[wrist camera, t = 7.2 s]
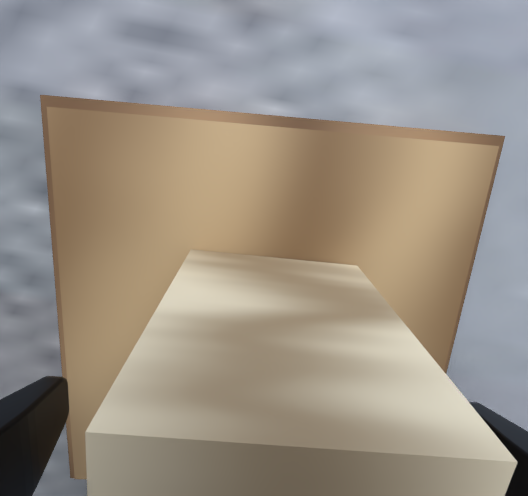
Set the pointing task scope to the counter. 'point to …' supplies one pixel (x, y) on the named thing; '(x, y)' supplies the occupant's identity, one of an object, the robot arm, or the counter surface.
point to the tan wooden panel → (247, 218)
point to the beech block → (285, 394)
